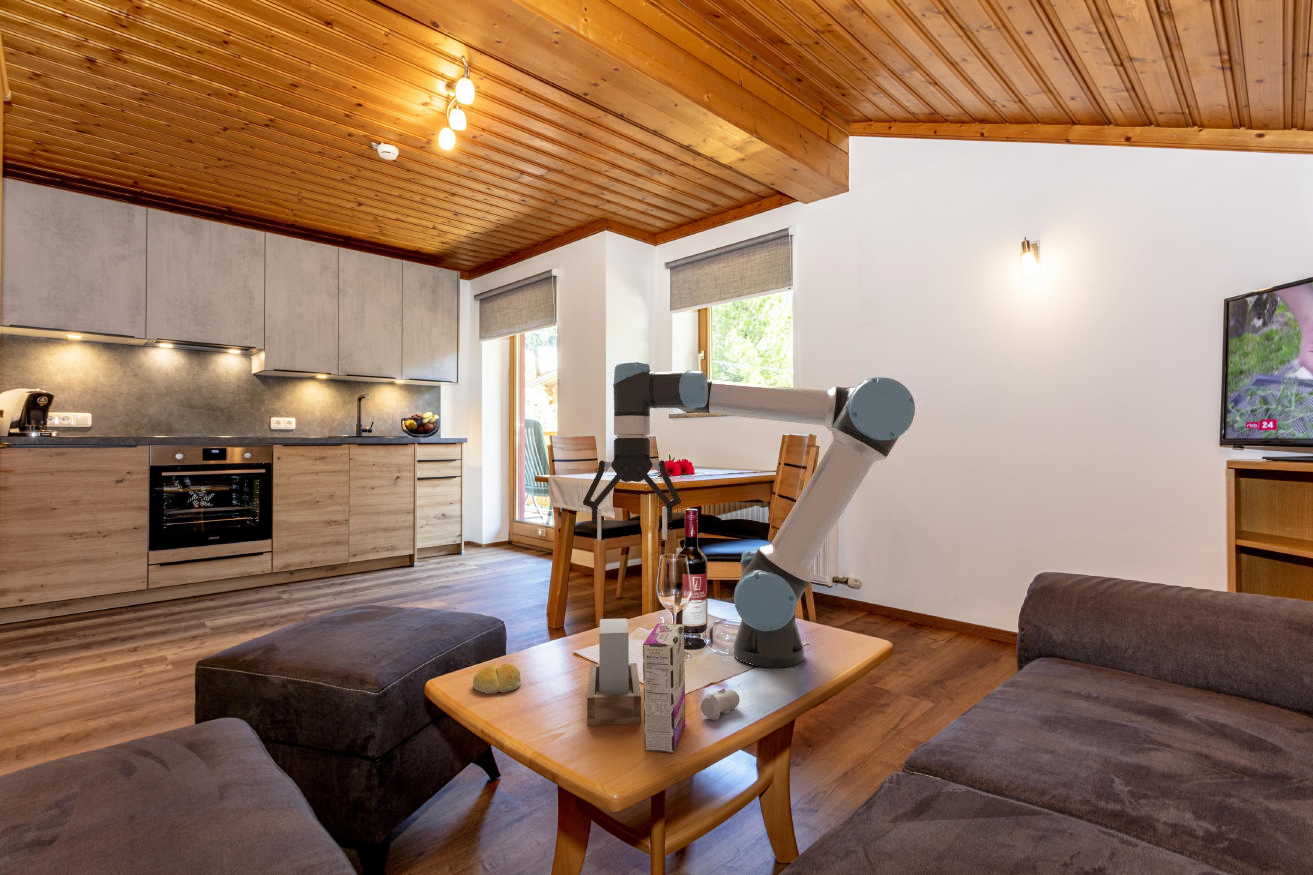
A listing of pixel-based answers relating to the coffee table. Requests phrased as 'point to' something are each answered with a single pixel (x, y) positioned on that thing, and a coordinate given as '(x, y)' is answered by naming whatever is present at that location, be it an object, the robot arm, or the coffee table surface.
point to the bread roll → (497, 679)
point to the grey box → (613, 656)
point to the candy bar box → (664, 687)
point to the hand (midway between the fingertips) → (632, 539)
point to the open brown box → (613, 701)
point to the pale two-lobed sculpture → (719, 703)
